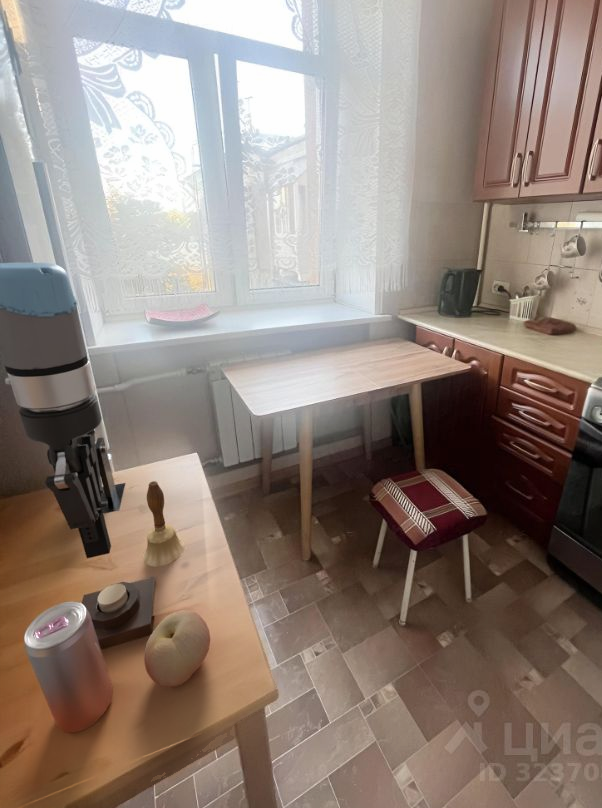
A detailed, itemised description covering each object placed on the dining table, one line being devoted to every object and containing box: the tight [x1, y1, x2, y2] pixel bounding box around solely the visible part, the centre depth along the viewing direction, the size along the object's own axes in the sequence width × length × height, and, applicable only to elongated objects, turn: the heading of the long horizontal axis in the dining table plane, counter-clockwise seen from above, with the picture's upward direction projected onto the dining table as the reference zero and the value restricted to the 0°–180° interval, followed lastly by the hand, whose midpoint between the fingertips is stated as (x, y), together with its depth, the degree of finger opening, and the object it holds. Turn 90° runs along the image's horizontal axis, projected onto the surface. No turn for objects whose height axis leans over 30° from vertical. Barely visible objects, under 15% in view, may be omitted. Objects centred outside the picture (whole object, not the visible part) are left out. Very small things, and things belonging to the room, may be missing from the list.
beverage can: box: [23, 601, 114, 733], centre depth 46 cm, size 6×6×15 cm
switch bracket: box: [95, 437, 126, 515], centre depth 81 cm, size 10×8×15 cm
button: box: [98, 583, 128, 613], centre depth 58 cm, size 4×4×2 cm
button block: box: [80, 576, 157, 651], centre depth 59 cm, size 10×9×4 cm
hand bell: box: [142, 480, 185, 567], centre depth 69 cm, size 8×8×16 cm
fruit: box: [143, 609, 211, 688], centre depth 53 cm, size 8×8×8 cm
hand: (99, 551), depth 55 cm, fingers closed
